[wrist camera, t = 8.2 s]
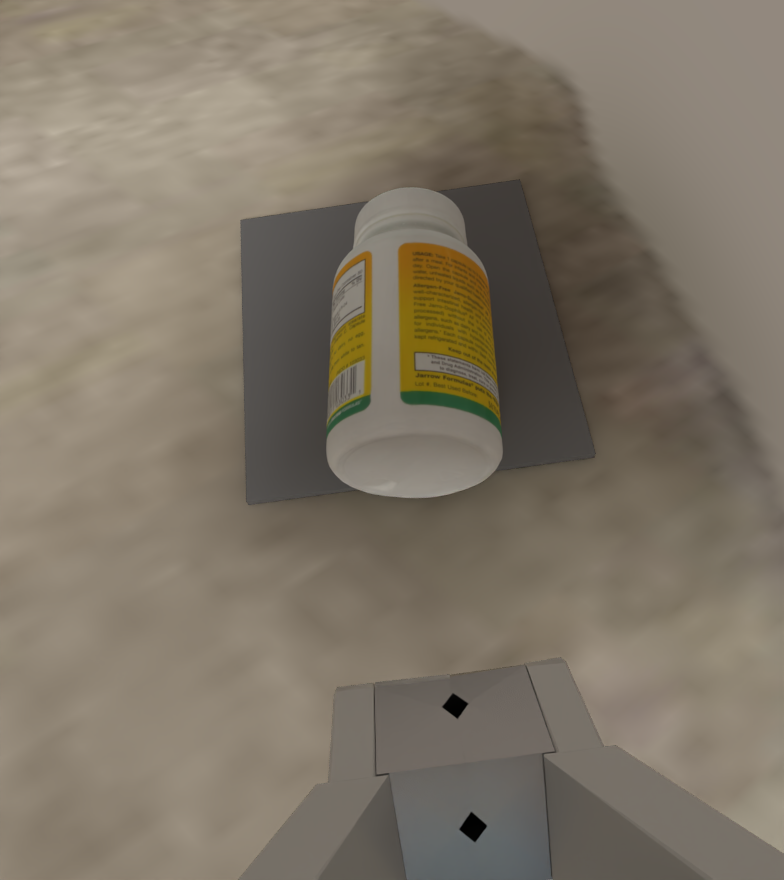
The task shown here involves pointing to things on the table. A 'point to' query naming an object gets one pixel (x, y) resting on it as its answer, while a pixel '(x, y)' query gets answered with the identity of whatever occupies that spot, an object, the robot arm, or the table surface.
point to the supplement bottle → (412, 354)
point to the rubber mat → (309, 331)
